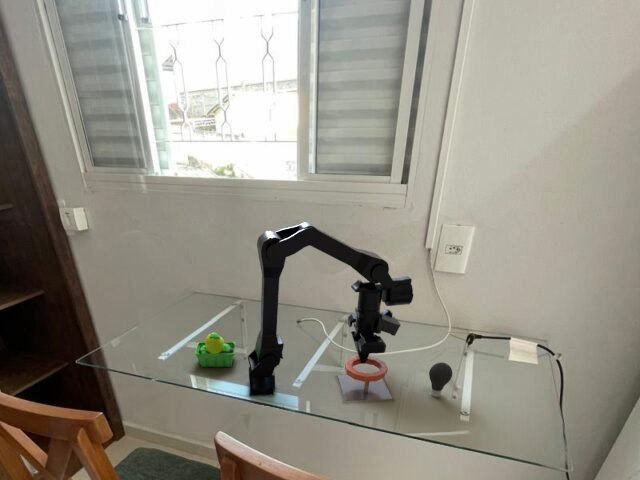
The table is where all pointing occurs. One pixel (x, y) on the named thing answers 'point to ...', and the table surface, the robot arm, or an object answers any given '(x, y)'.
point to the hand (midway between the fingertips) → (362, 361)
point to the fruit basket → (215, 352)
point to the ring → (366, 376)
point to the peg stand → (363, 389)
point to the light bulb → (439, 377)
